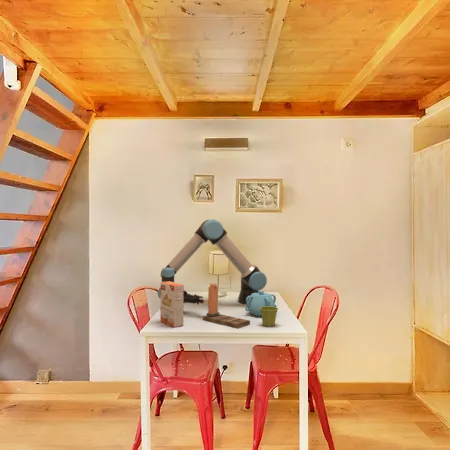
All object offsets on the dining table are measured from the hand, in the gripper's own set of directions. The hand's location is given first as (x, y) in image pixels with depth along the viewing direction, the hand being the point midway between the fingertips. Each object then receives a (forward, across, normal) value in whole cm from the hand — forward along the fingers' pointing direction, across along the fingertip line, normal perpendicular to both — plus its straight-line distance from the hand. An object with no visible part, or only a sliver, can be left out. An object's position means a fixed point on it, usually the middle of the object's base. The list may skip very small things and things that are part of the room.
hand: (208, 302), depth 205 cm
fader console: (+12, -1, -9) cm, 15 cm away
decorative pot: (+16, -27, -9) cm, 33 cm away
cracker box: (-7, +21, -9) cm, 24 cm away
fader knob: (+3, -1, -6) cm, 7 cm away
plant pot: (+31, -11, -9) cm, 35 cm away
